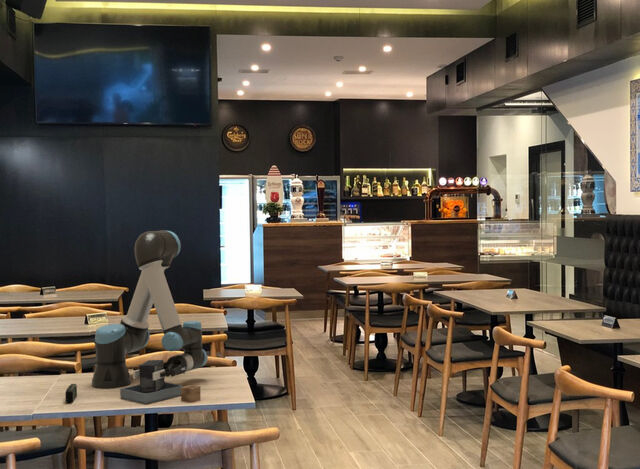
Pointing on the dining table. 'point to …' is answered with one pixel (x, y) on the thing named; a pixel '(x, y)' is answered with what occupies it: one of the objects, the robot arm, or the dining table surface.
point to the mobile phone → (71, 393)
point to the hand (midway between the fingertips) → (143, 375)
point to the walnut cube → (190, 393)
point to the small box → (150, 376)
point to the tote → (147, 398)
